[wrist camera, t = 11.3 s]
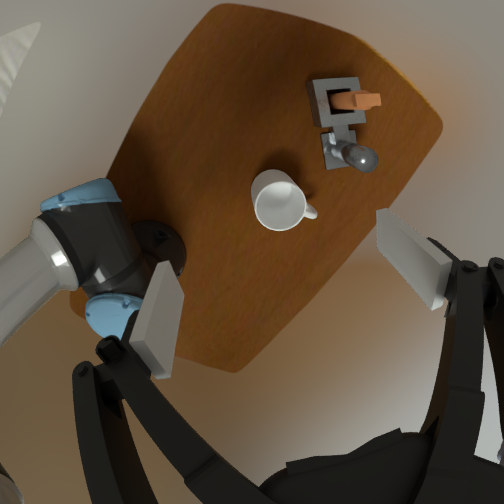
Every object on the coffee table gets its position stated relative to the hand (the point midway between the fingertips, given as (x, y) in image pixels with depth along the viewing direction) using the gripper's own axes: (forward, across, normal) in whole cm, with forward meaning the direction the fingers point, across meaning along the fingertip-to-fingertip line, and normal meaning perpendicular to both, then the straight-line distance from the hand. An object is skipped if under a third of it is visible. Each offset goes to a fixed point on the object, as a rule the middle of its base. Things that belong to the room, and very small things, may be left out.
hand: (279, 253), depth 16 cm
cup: (+36, +5, -8) cm, 38 cm away
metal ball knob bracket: (+36, +18, +3) cm, 41 cm away
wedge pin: (+36, +18, +8) cm, 41 cm away
